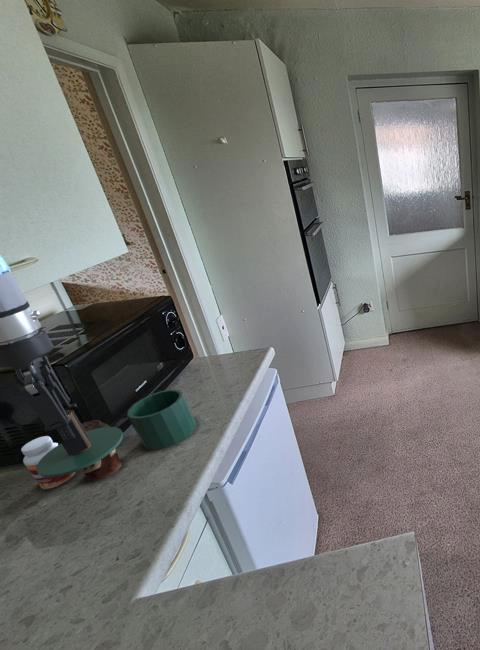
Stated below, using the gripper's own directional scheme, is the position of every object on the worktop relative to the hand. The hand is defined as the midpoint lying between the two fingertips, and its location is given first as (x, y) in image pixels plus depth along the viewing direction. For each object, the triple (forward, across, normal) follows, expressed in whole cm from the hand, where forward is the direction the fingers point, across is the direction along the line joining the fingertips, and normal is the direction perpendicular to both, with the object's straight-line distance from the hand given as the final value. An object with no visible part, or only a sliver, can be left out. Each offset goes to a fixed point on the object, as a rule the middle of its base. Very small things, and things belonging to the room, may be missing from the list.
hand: (79, 445), depth 72 cm
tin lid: (+1, 0, 0) cm, 1 cm away
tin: (+18, +20, -12) cm, 29 cm away
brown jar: (+18, +16, +2) cm, 24 cm away
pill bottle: (+18, +22, +10) cm, 30 cm away
